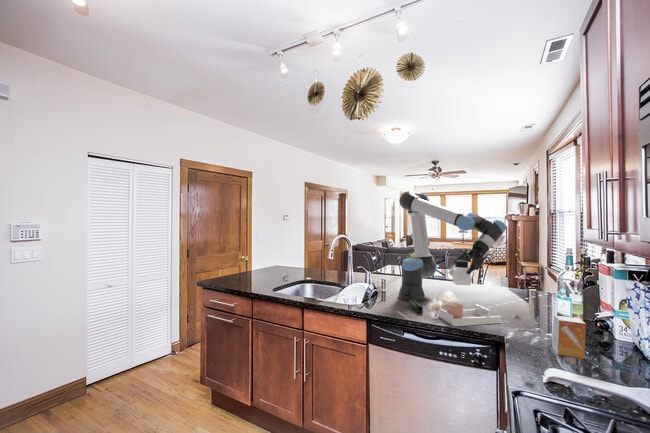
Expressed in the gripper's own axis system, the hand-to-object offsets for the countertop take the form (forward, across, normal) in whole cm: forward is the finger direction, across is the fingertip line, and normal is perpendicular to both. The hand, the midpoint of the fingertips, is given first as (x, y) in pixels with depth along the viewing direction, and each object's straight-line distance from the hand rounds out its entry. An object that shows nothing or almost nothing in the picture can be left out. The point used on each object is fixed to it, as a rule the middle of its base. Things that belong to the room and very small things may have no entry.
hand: (455, 276), depth 156 cm
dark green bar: (+27, +6, 0) cm, 28 cm away
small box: (+5, -47, -23) cm, 53 cm away
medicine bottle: (+1, 0, -5) cm, 5 cm away
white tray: (+14, -11, -13) cm, 22 cm away
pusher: (+7, -11, -18) cm, 23 cm away
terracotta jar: (+19, -11, -7) cm, 23 cm away
